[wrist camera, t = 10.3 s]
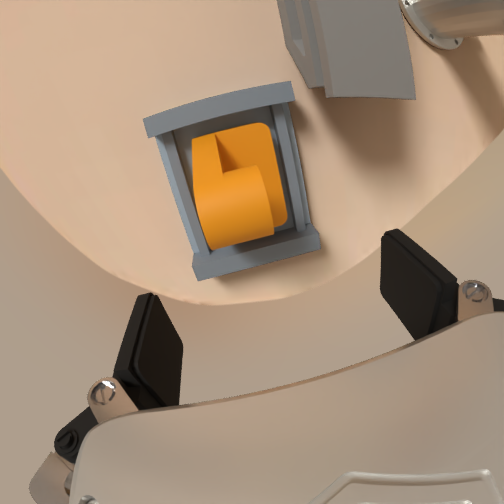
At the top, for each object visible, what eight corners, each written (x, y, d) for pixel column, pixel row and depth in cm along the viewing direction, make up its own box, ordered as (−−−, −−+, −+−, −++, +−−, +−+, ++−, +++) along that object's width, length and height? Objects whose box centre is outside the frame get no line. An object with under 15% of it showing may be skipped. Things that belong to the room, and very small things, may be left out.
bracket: (283, 214, 32) (317, 268, 21) (220, 230, 32) (224, 293, 21) (263, 120, 27) (293, 123, 16) (194, 137, 27) (178, 150, 16)
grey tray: (280, 85, 26) (290, 80, 22) (309, 233, 34) (320, 249, 31) (152, 118, 26) (142, 118, 22) (199, 262, 34) (197, 281, 31)
